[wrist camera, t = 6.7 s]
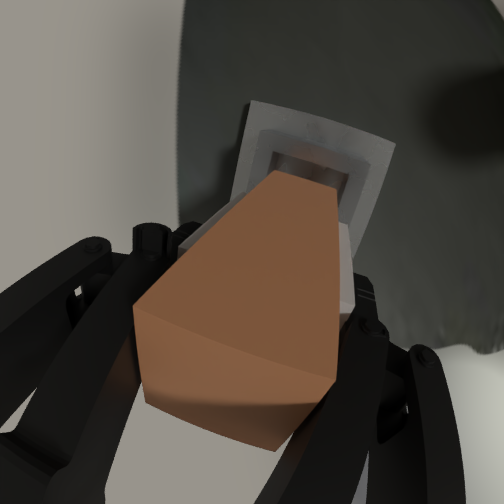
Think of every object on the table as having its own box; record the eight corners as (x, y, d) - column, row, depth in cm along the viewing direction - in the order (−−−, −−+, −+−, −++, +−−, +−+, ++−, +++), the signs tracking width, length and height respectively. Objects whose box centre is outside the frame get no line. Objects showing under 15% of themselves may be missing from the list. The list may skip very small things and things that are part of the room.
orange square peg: (274, 169, 17) (132, 305, 5) (336, 189, 17) (335, 379, 4) (260, 226, 19) (145, 402, 7) (317, 245, 19) (275, 452, 6)
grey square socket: (254, 100, 21) (238, 97, 17) (393, 142, 20) (406, 147, 16) (227, 226, 27) (209, 245, 23) (347, 265, 25) (349, 291, 22)
